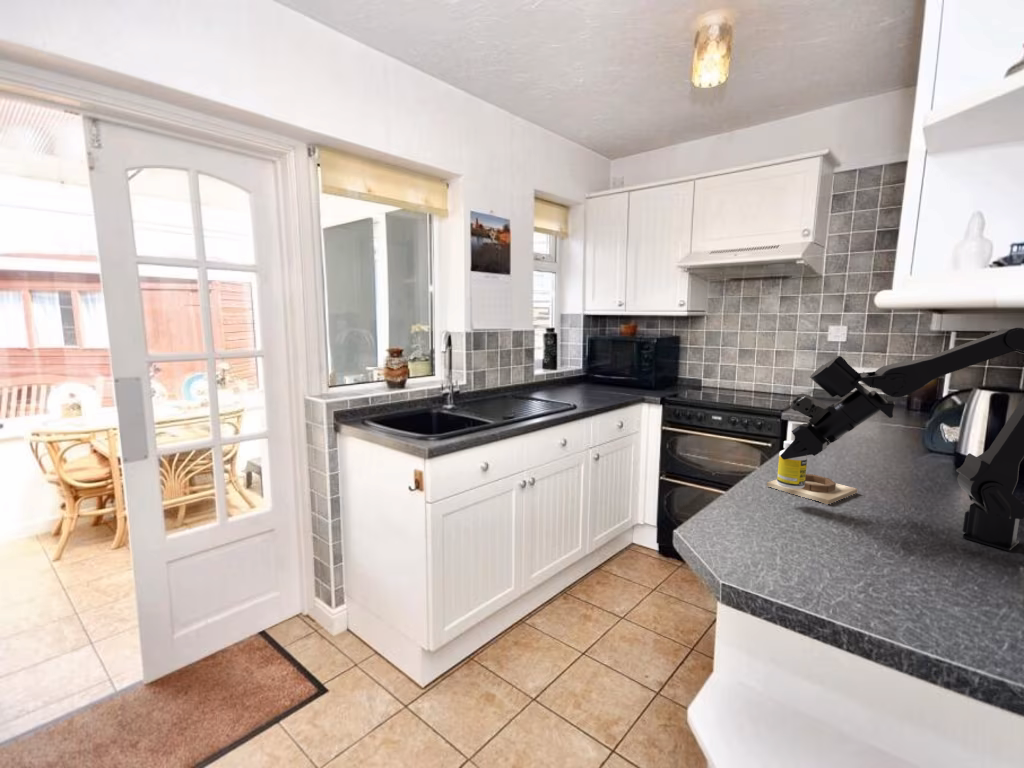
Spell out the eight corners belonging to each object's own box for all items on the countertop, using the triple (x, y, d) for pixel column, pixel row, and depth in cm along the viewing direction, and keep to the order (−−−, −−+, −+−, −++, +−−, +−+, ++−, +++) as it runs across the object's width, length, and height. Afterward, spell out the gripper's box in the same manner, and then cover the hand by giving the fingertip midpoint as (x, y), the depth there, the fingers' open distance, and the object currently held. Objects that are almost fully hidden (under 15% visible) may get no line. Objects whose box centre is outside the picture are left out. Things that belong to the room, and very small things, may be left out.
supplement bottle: (803, 491, 105) (806, 446, 103) (774, 486, 108) (777, 442, 107) (806, 484, 109) (809, 441, 108) (779, 479, 112) (782, 438, 111)
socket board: (856, 493, 116) (858, 482, 116) (828, 505, 109) (829, 493, 108) (796, 477, 128) (797, 467, 128) (766, 487, 120) (767, 476, 120)
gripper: (830, 378, 109) (773, 420, 118) (807, 386, 96) (745, 432, 105) (870, 418, 105) (807, 458, 114) (851, 432, 92) (782, 476, 101)
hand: (786, 455), depth 109 cm, fingers closed on supplement bottle, 5 cm apart
